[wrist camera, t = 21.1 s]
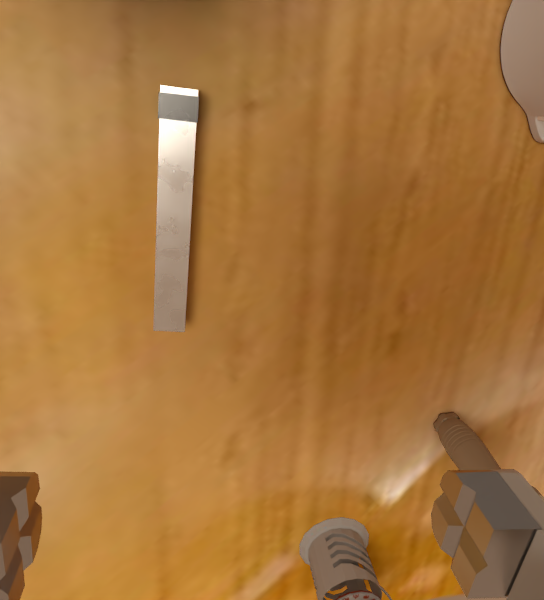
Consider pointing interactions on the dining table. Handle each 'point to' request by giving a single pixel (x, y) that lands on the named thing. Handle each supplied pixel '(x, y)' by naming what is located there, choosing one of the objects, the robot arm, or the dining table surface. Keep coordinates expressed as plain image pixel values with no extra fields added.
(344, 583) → the french press
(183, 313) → the grey square bar
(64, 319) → the dining table surface
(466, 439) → the handle
